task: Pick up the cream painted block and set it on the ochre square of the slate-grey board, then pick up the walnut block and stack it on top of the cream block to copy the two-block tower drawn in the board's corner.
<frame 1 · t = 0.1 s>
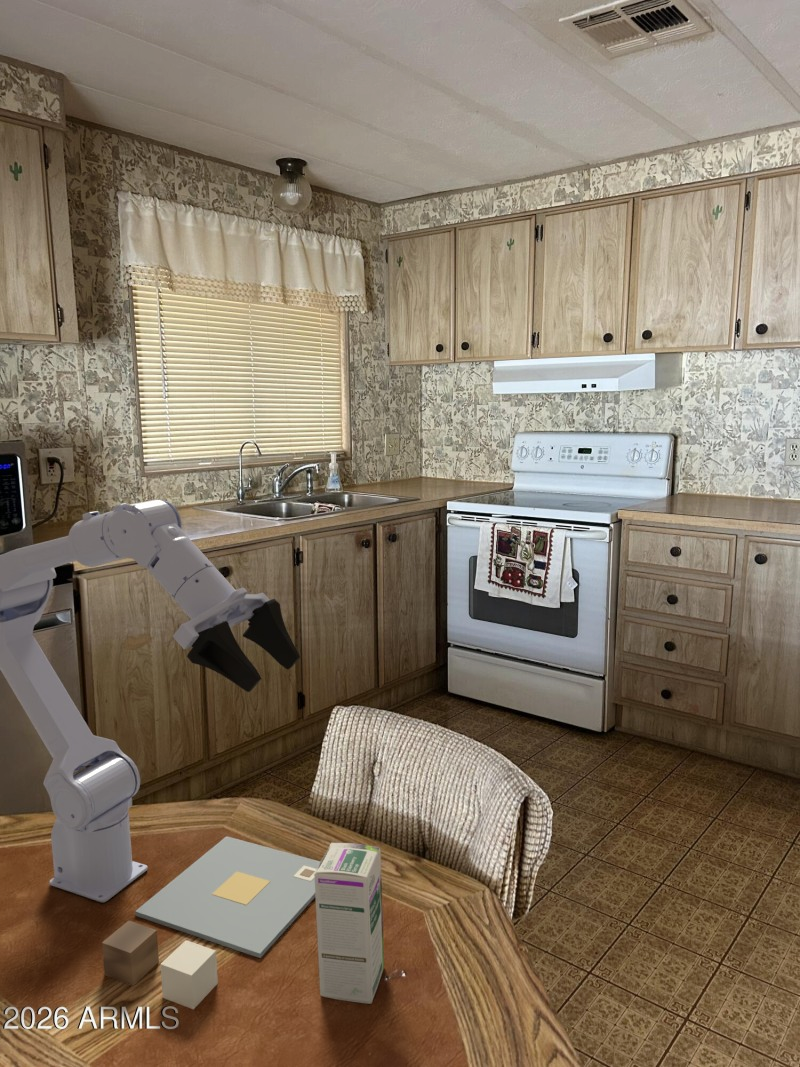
hand: (275, 674, 86), 32 cm above the table, tool tilted 50°, fingers open, 7 cm apart
walnut block: (132, 969, 87), on the table
cream block: (190, 991, 84), on the table
syrup box: (352, 983, 85), on the table
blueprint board: (241, 892, 100), on the table
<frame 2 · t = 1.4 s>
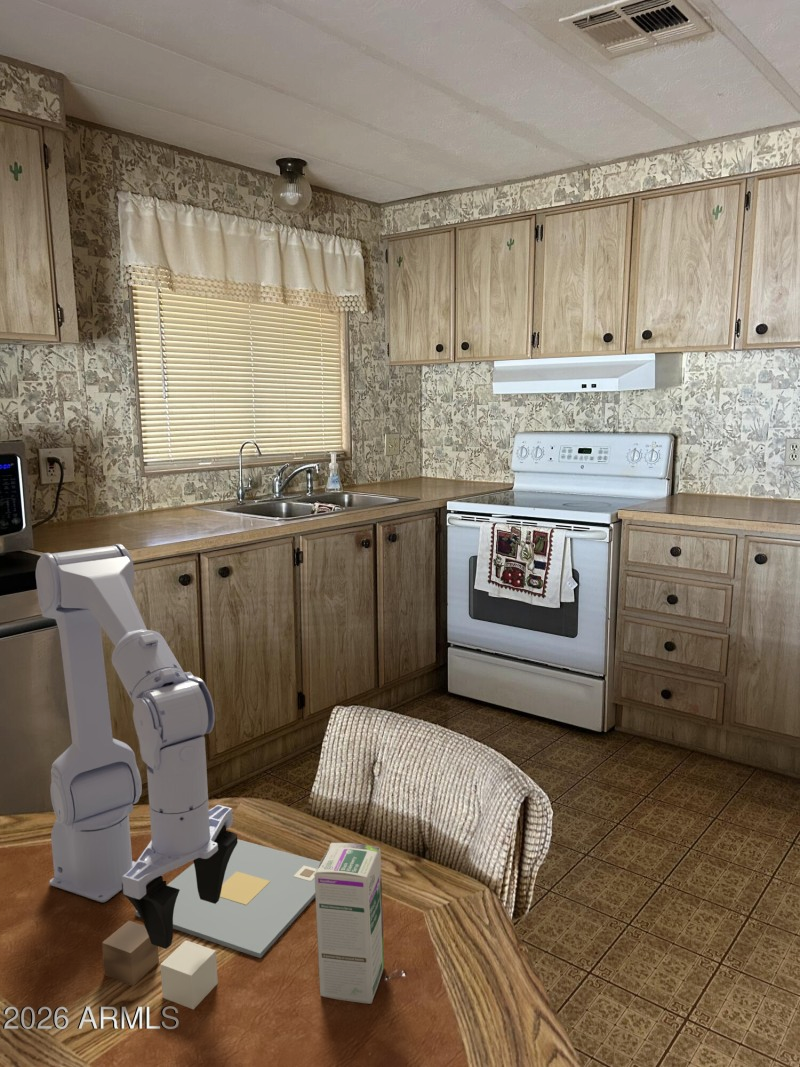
hand: (186, 921, 82), 8 cm above the table, tool pointing down, fingers open, 7 cm apart
nothing on the table moved.
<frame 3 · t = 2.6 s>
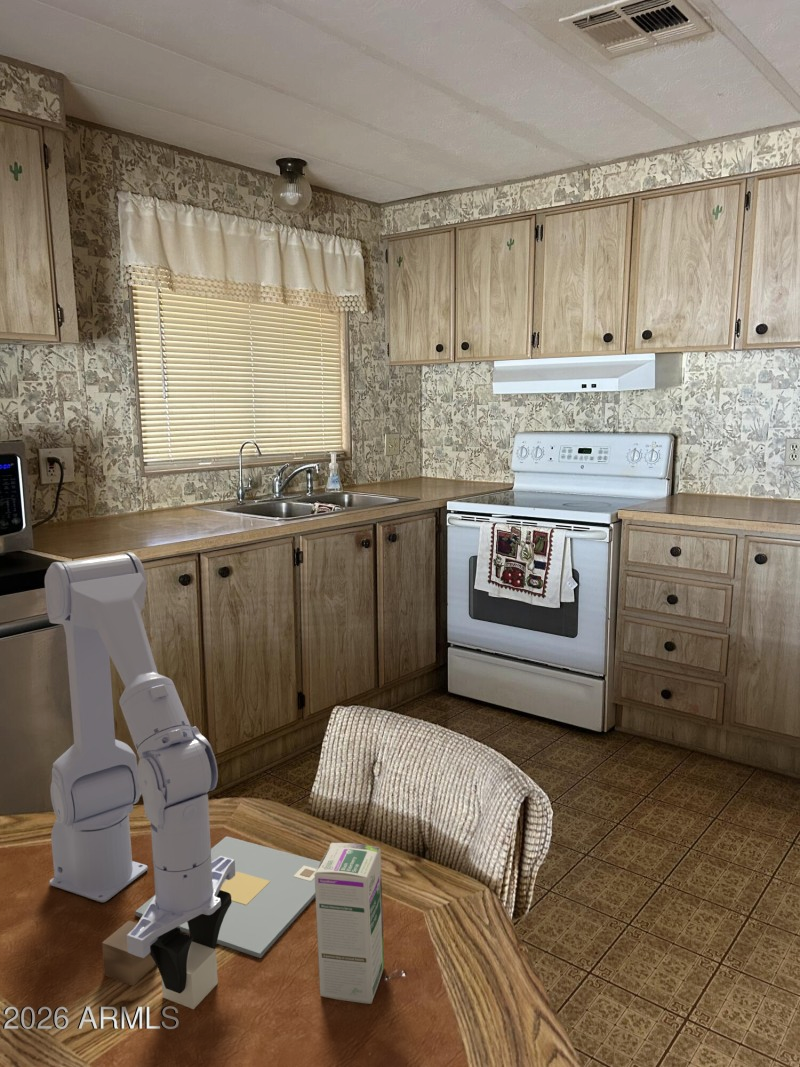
hand: (189, 973, 83), 2 cm above the table, tool pointing down, fingers closed on cream block, 4 cm apart
cream block: (190, 990, 84), on the table, touching gripper
everything else where it was.
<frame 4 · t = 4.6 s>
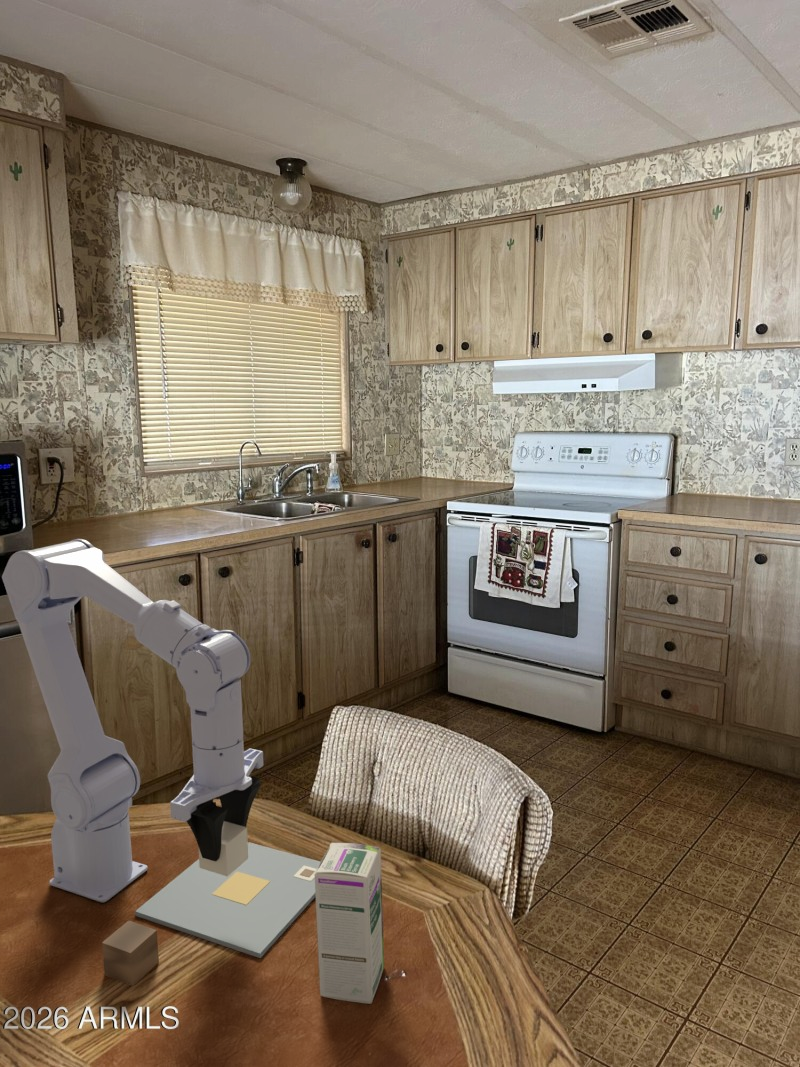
hand: (223, 847, 93), 9 cm above the table, tool pointing down, fingers closed on cream block, 4 cm apart
cream block: (224, 863, 94), point 7 cm above the table, touching gripper
everything else where it was.
when the fingers open (4 cm above the table, at t = 6.5 s): cream block drops 1 cm, resting on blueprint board.
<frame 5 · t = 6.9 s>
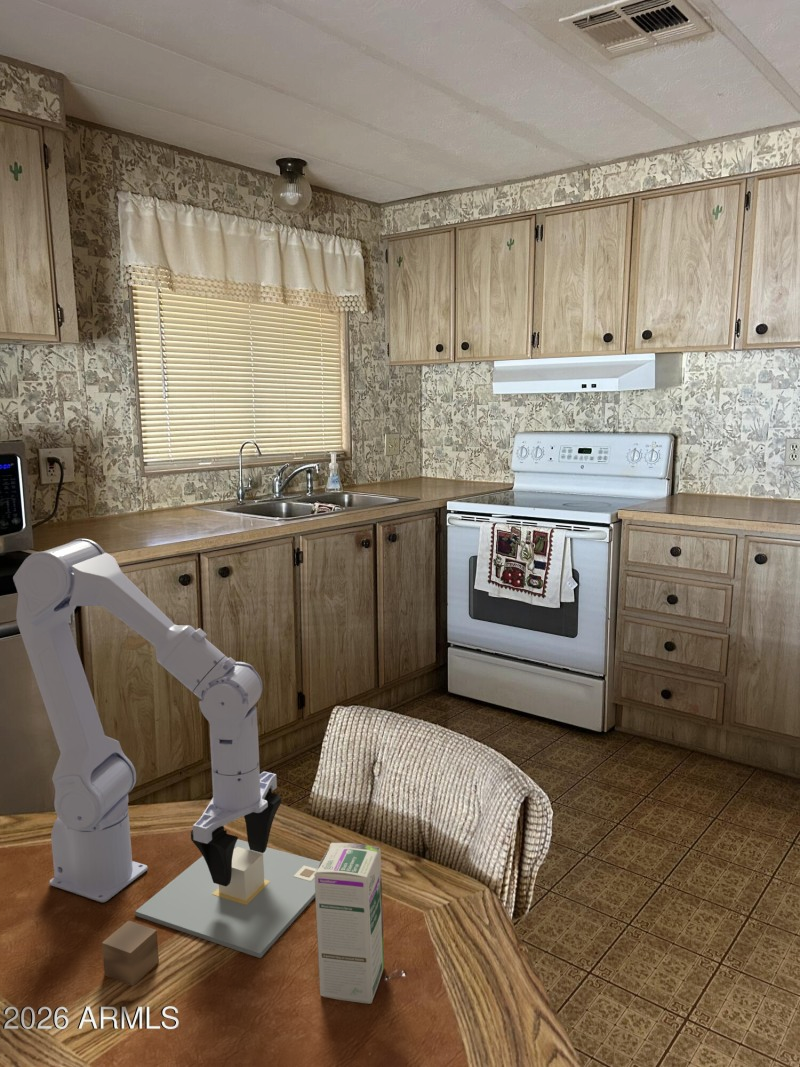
hand: (240, 866, 100), 4 cm above the table, tool pointing down, fingers open, 7 cm apart
cream block: (241, 887, 100), point 1 cm above the table, touching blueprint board
everything else where it was.
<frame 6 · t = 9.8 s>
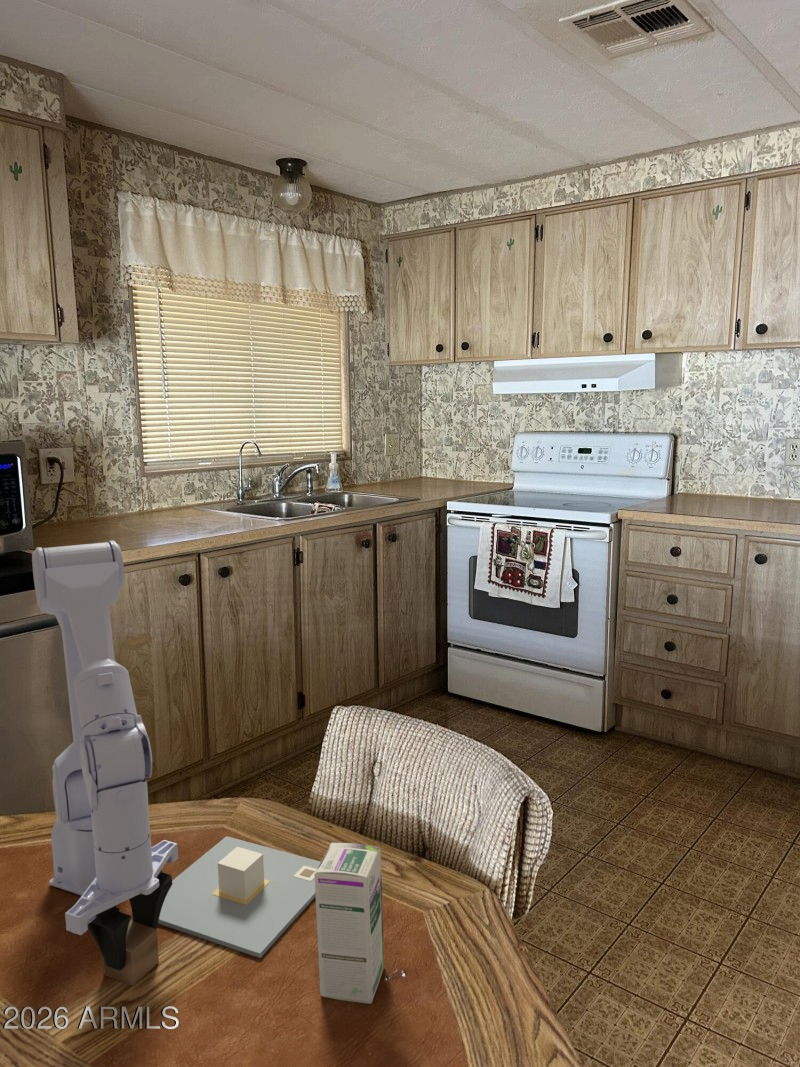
hand: (130, 952, 87), 2 cm above the table, tool pointing down, fingers closed on walnut block, 4 cm apart
walnut block: (132, 968, 87), on the table, touching gripper
everything else where it was.
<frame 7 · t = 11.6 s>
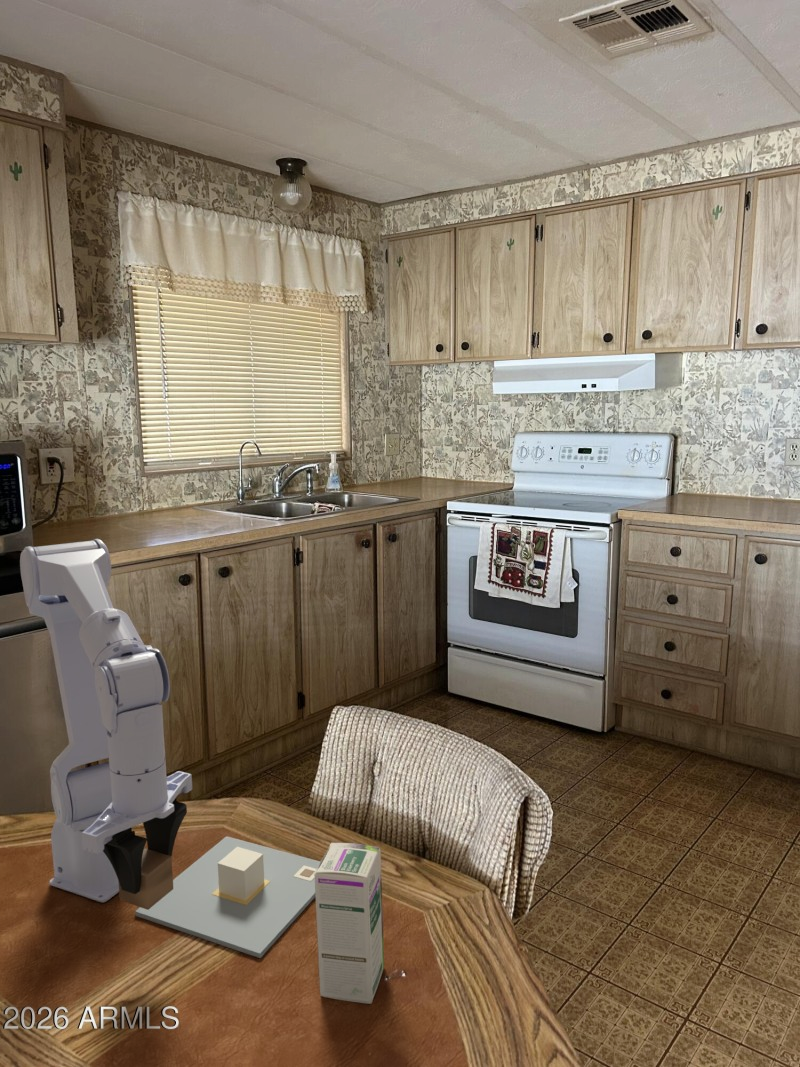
hand: (145, 878, 88), 9 cm above the table, tool pointing down, fingers closed on walnut block, 4 cm apart
walnut block: (146, 894, 88), point 7 cm above the table, touching gripper
everything else where it was.
when the fingers open (7 cm above the table, at t = 13.4 s): walnut block stays where it is, resting on cream block.
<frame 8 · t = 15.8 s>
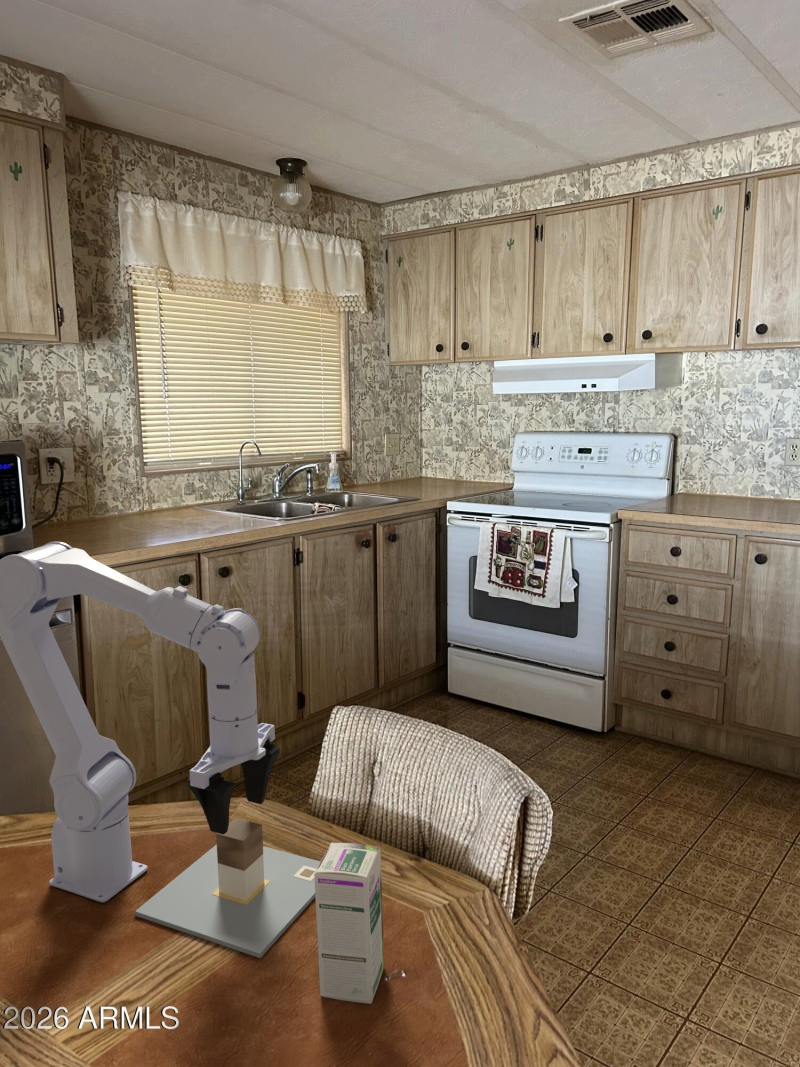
hand: (237, 816, 98), 10 cm above the table, tool pointing down, fingers open, 7 cm apart
walnut block: (240, 858, 99), point 5 cm above the table, touching cream block
cream block: (241, 887, 100), point 1 cm above the table, touching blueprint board, walnut block
everything else where it was.
at the end: cream block 0.1 cm off-centre on the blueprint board, point 0.6 cm above the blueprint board's base; walnut block 0.0 cm off-centre on the cream block, point 4.0 cm above the cream block's base; walnut block tilted 0° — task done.
